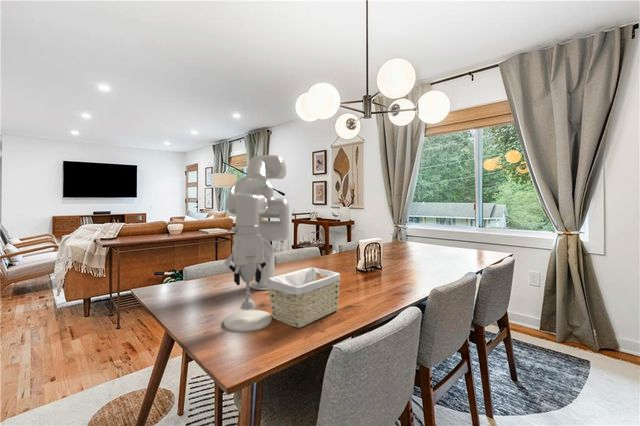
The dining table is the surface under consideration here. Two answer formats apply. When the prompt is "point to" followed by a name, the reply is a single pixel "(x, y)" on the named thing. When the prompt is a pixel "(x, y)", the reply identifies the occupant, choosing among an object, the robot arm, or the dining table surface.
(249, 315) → the plate
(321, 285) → the storage basket
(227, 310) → the dining table surface
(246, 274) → the chalice
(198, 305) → the dining table surface
